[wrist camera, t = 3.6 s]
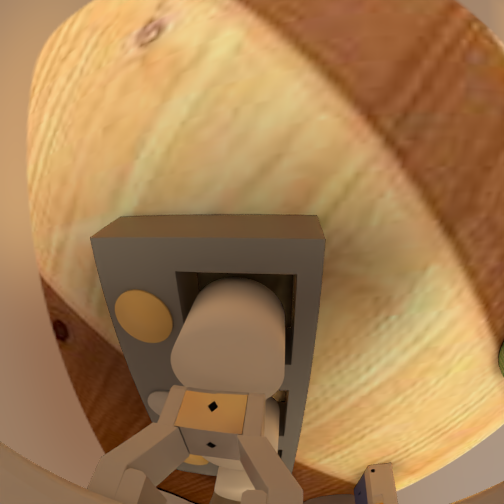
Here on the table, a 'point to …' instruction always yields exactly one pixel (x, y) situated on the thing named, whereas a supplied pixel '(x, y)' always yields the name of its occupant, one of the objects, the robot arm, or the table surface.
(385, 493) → the walkman
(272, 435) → the button
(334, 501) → the cup
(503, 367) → the ramekin
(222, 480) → the button
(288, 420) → the board
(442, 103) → the table surface
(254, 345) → the button
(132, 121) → the table surface
